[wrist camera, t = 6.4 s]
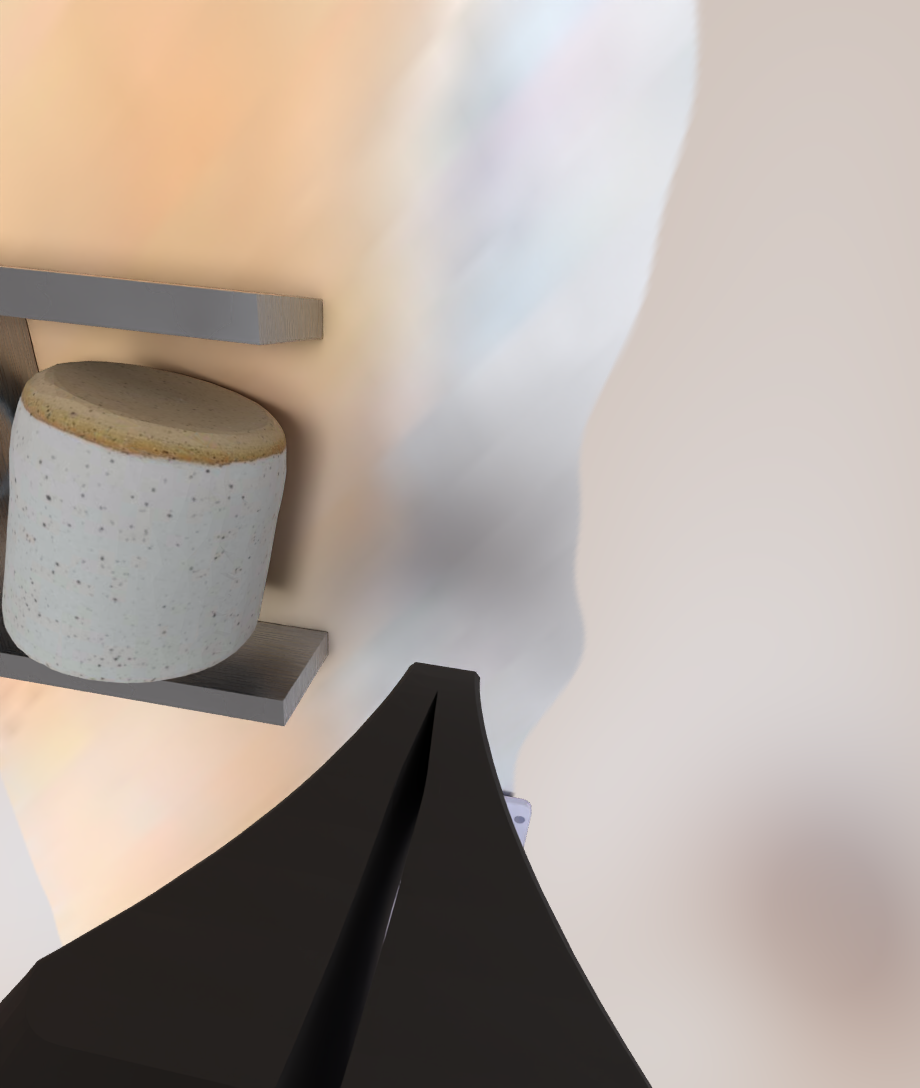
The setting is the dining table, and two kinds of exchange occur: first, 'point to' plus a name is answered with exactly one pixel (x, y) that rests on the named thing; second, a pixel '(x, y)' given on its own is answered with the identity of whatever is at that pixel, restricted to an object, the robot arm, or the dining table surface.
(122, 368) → the ceramic mug
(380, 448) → the dining table surface
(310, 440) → the dining table surface
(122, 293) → the grey u-shaped piece
